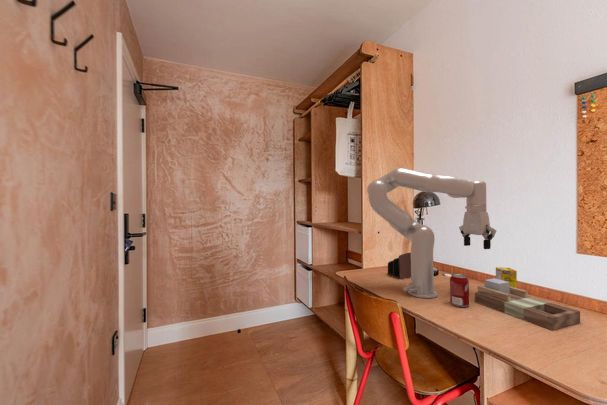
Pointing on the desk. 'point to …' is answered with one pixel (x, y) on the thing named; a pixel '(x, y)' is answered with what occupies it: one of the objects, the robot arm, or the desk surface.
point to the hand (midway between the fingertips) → (476, 247)
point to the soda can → (459, 290)
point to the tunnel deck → (528, 307)
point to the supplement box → (507, 275)
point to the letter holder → (400, 266)
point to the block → (498, 285)
